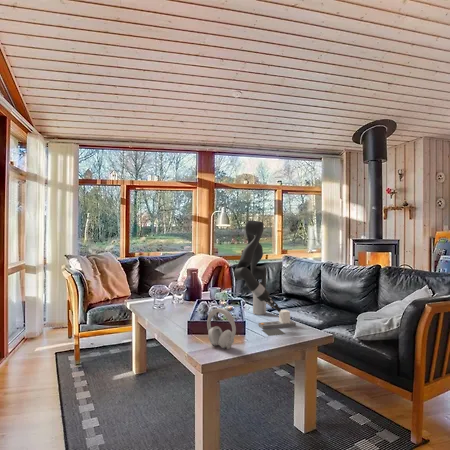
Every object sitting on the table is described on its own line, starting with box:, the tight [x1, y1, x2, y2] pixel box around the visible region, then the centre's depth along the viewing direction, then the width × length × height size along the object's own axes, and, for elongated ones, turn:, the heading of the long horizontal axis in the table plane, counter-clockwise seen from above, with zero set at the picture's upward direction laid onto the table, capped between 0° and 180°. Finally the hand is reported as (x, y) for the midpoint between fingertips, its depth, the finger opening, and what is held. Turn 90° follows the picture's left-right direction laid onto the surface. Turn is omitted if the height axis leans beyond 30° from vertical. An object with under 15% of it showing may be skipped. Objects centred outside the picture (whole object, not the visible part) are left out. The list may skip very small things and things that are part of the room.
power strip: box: [257, 319, 297, 330], centre depth 225 cm, size 7×22×3 cm, turn 107°
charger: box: [278, 309, 291, 324], centre depth 226 cm, size 5×5×9 cm
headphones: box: [206, 307, 237, 350], centre depth 189 cm, size 19×8×20 cm, turn 47°
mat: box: [261, 328, 287, 337], centre depth 213 cm, size 11×11×1 cm
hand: (277, 309), depth 224 cm, fingers open, 8 cm apart
